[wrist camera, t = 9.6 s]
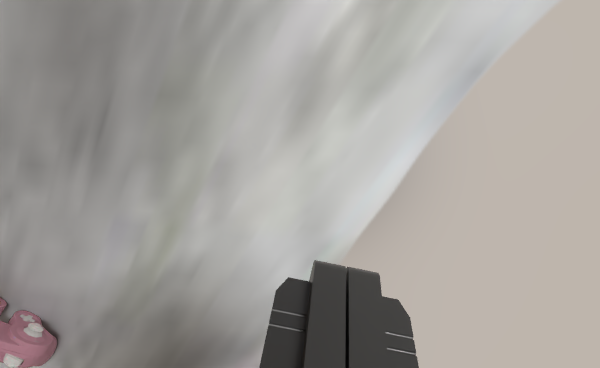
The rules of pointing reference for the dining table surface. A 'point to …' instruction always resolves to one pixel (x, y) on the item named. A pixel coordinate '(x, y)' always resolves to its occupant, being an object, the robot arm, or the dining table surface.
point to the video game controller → (24, 340)
